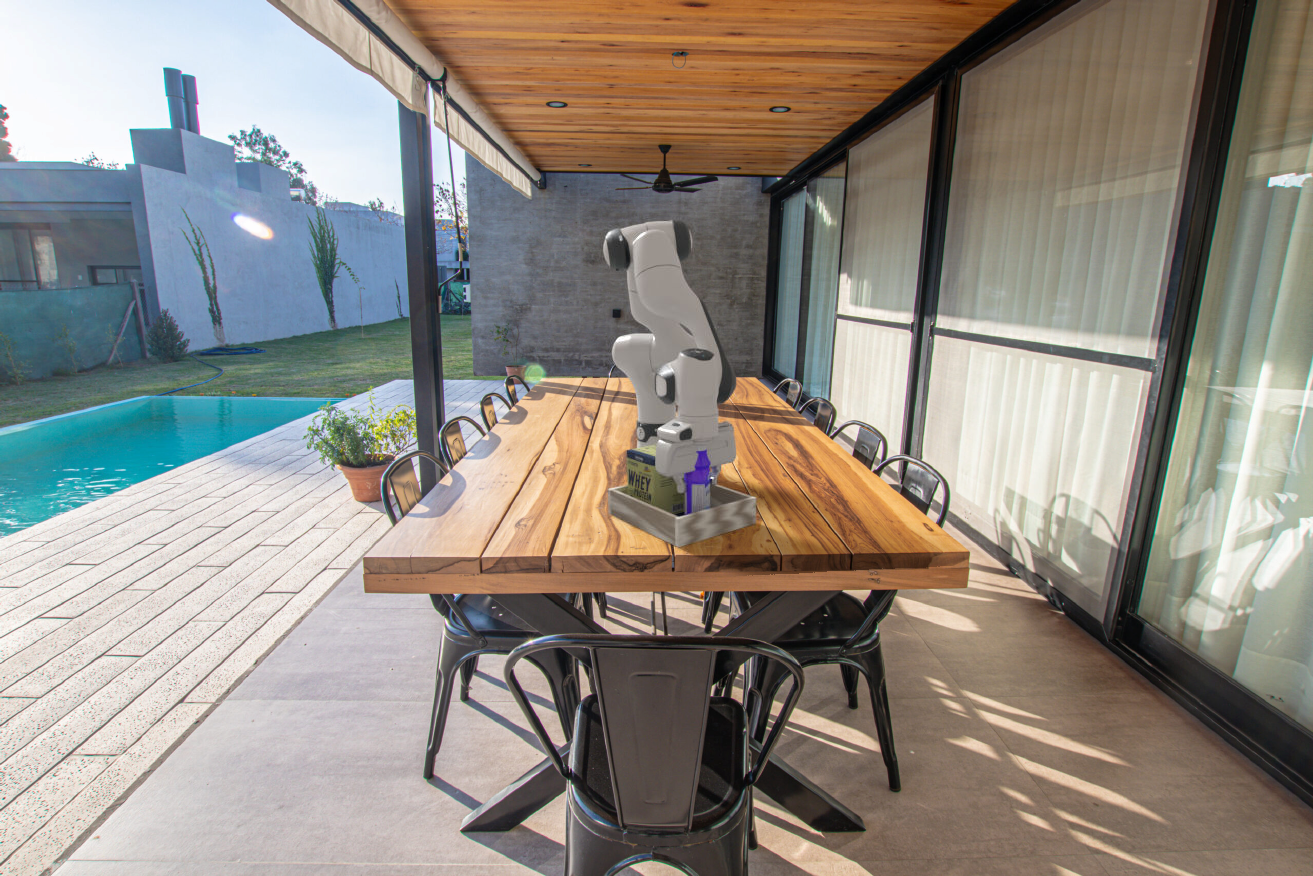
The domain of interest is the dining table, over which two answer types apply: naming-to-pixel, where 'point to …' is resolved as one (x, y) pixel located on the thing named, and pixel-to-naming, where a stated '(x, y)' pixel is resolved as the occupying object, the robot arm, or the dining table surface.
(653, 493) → the protein box
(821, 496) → the dining table surface
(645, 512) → the crate
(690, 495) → the bottle
